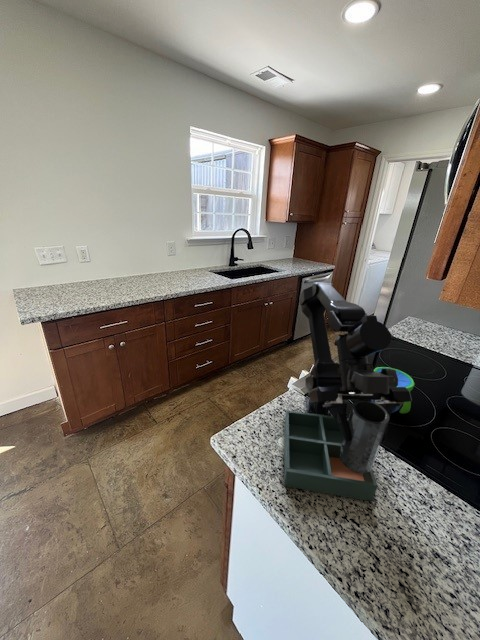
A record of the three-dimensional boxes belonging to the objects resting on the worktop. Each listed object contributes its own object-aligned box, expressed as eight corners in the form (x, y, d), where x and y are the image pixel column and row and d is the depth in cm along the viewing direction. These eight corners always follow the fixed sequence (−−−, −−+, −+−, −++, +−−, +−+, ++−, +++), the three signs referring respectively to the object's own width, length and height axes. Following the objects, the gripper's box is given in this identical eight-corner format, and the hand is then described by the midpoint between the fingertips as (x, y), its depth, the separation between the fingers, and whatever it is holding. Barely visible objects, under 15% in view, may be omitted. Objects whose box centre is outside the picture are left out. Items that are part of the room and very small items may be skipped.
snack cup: (357, 387, 87) (363, 361, 83) (389, 388, 87) (397, 362, 83) (378, 423, 73) (387, 394, 69) (417, 425, 73) (428, 395, 68)
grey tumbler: (341, 441, 59) (353, 395, 53) (372, 453, 56) (389, 406, 51) (337, 464, 54) (350, 416, 48) (371, 479, 51) (389, 429, 46)
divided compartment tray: (284, 423, 72) (286, 410, 70) (352, 432, 69) (356, 419, 68) (284, 486, 56) (286, 471, 54) (372, 501, 53) (377, 486, 52)
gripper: (323, 352, 48) (333, 446, 43) (421, 353, 49) (444, 445, 44) (306, 364, 59) (312, 440, 53) (387, 364, 60) (402, 440, 54)
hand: (365, 441), depth 51 cm, fingers closed on grey tumbler, 6 cm apart
